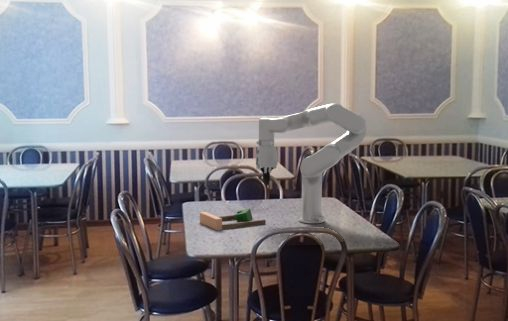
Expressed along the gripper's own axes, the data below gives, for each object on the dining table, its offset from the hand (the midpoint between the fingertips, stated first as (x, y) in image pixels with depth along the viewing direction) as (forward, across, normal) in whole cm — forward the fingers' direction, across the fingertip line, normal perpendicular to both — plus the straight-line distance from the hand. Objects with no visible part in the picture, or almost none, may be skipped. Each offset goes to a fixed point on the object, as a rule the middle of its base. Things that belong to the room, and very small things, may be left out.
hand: (266, 180), depth 296 cm
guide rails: (+19, -17, 0) cm, 25 cm away
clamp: (+19, -13, 0) cm, 23 cm away
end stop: (+19, -30, 0) cm, 35 cm away
